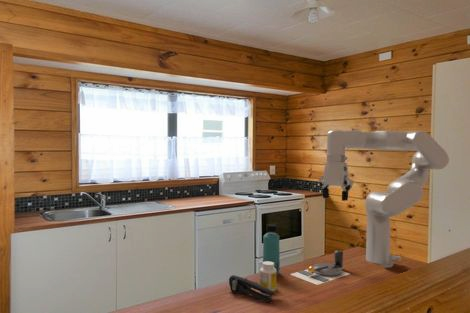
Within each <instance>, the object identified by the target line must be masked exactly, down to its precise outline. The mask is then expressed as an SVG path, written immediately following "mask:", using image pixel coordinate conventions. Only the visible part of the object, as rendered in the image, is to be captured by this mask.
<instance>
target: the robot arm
mask: <svg viewBox="0 0 470 313" xmlns="http://www.w3.org/2000/svg"><path fill="white" fill-rule="evenodd" d="M326 138H327V140H326V162H325V163H324V164H325V165H324V168H323V175H322V176H321V177H318V182H319V185H320V186H321V189H322V198H323V199H328V198H329V194H330V190H329V187H330V186H335V187H341V189H342V191H341V201H343V202H345V201H348V199H349V191H350V190H351V188H352V187H353V186H354V183H355V180H353V179H351V178H350V177H349V176H350V175H349V167H348V163H347V162H346V161H347V160H348V157H347V156H346V149H365V150H366V149H368V150H369V149H370V150H376V151H402V152H406V151H407V152H408V151H409V152H411V151H415V153H414V155H412V159H411V160H412V161H411V167H410V170H408V172H406V173H405V174H403V175H401V176H400V177H398V178H396V179H395V180H393V181H392V182H390V183H389V184H388V186H387V188H386V192H384V191H378V190H375V191H374V190H373V191H372V192H370V193H369V194H368V195H367V196H366V198H365V201H364V204H365V205H364V206H365V214H366V236H365V237H366V240H365V241H366V242H365V243H366V245H365V249H366V250H365V254H366V255H365V260H366V261H367V262H369V263H371V264H377V265H379V266H381V267H382V268H383V269H390V268H393V267H394V261H396V262H397V261H399V262H401V261H402V257H401V256H400V255H395V254H391V253H390V251H391V250H390V248H391V219H390V218H394V217H397V216H399V215H401V214H402V213H404V212H406V211H407V210H409V209H411V208H412V207H414V206H415V205H417V204H418V203H419V202H420V201H421V200H422V198H423V196H424V189H423V188H424V187H425V185H426V184H427V183H428V181H429V173H430V170H436V171H437V170H438V171H439V170H443V169H445V168H446V167H447V166H448V164H449V162H450V158H449V155H448V152H447V151H446V150H445V149H444V148H443V147H442V145H440V144H439V143H438V142H437V140H435V139H434V138H433V137H432V136H431V135H430V134H429V133H428V132H426V131H425V130H411V131H404V130H402V131H401V130H375V131H361V130H357V129H354V130H341V129H336V130H335V129H334V130H329V131H328V132H327V135H326Z"/></svg>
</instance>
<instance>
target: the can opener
mask: <svg viewBox="0 0 470 313" xmlns="http://www.w3.org/2000/svg"><path fill="white" fill-rule="evenodd" d="M228 284H229V287H230V292H232V293H234V294H248V295H250V296H252V297H254V298H256V299H257V300H259V299H260V300H259V301H261V300H263V301H262V302H264V301H266V302H265V303H267V302H272V303H273V302H274V301H273V299H272V298H271V297H272V296H274V295H275V294H274V293H275V291H271V290H269V289H267V288H265V287H263V286H261V285H260V283H257V282H255V281H252V280H249V279H248V277H241V276H237V275H234V274H233V275H231V276H229V279H228ZM256 290H257V291H256ZM258 291H259V292H258ZM260 291H261V292H263V293H266V294H268V295H271V296H266V295H263V294H261V293H260Z"/></svg>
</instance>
